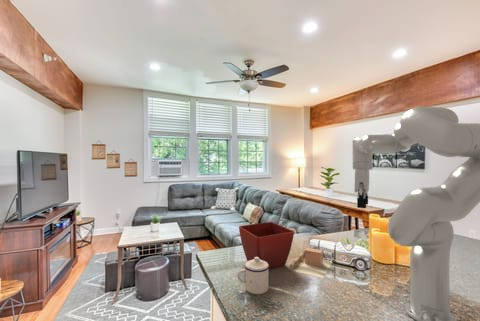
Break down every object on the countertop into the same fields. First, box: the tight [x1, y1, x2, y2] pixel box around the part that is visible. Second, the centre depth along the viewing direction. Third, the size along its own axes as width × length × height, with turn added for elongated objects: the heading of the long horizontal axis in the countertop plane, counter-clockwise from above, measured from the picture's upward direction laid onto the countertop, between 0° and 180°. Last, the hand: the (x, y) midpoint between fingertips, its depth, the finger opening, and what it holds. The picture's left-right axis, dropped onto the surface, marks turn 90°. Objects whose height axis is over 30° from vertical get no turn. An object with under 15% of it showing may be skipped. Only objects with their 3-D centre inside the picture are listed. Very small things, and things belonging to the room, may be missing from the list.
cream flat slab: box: [289, 249, 333, 279], centre depth 109 cm, size 21×14×3 cm, turn 148°
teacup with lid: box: [236, 257, 270, 295], centre depth 91 cm, size 12×9×12 cm
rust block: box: [304, 247, 324, 267], centre depth 111 cm, size 7×4×6 cm, turn 58°
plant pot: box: [238, 221, 295, 271], centre depth 111 cm, size 19×19×17 cm
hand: (362, 205), depth 103 cm, fingers open, 9 cm apart
